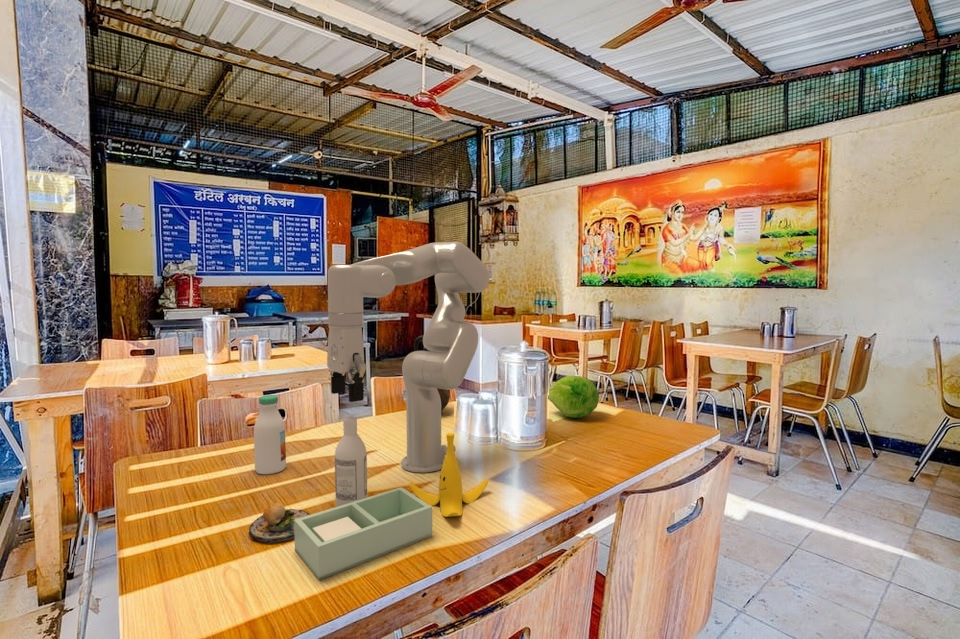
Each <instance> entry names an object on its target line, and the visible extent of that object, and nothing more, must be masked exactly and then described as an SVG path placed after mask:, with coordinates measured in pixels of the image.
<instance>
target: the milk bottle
mask: <svg viewBox="0 0 960 639" xmlns="http://www.w3.org/2000/svg"><path fill="white" fill-rule="evenodd" d="M258 403H259V408H260V409H259V411H258V415H257V417H256V419H255V423H254V427H253V452H254V453H253V454H254V469H255V472H256V474H260V475H272V474H277V473H280V472H282V471H284V470H285V469H286V467H287V455H286V454H287V450H286V449H287V448H286V447H287V446H286V429H285V428H286V427H285V426H286V425H285V422H284V419H283V417H282V415H281V413H280V411H279V409H278V404H279V398H278V395H275V394H267V395H261V396H259V398H258Z"/></svg>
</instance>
